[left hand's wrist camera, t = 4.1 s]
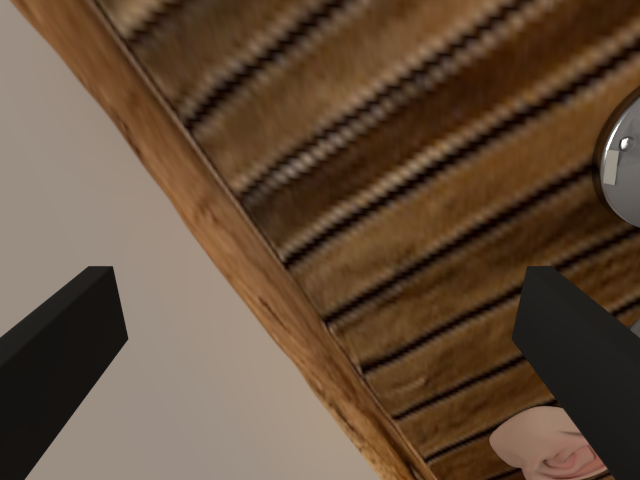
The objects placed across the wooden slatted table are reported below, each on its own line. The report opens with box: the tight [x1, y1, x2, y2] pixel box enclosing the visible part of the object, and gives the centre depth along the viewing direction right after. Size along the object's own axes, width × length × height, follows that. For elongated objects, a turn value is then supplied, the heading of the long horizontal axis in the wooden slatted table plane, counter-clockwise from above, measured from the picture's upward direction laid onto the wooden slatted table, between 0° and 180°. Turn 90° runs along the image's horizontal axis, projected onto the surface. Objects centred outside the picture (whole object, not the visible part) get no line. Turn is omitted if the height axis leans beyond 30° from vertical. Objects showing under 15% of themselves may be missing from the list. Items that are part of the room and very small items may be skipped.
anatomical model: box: [489, 406, 607, 480], centre depth 50 cm, size 13×4×12 cm
